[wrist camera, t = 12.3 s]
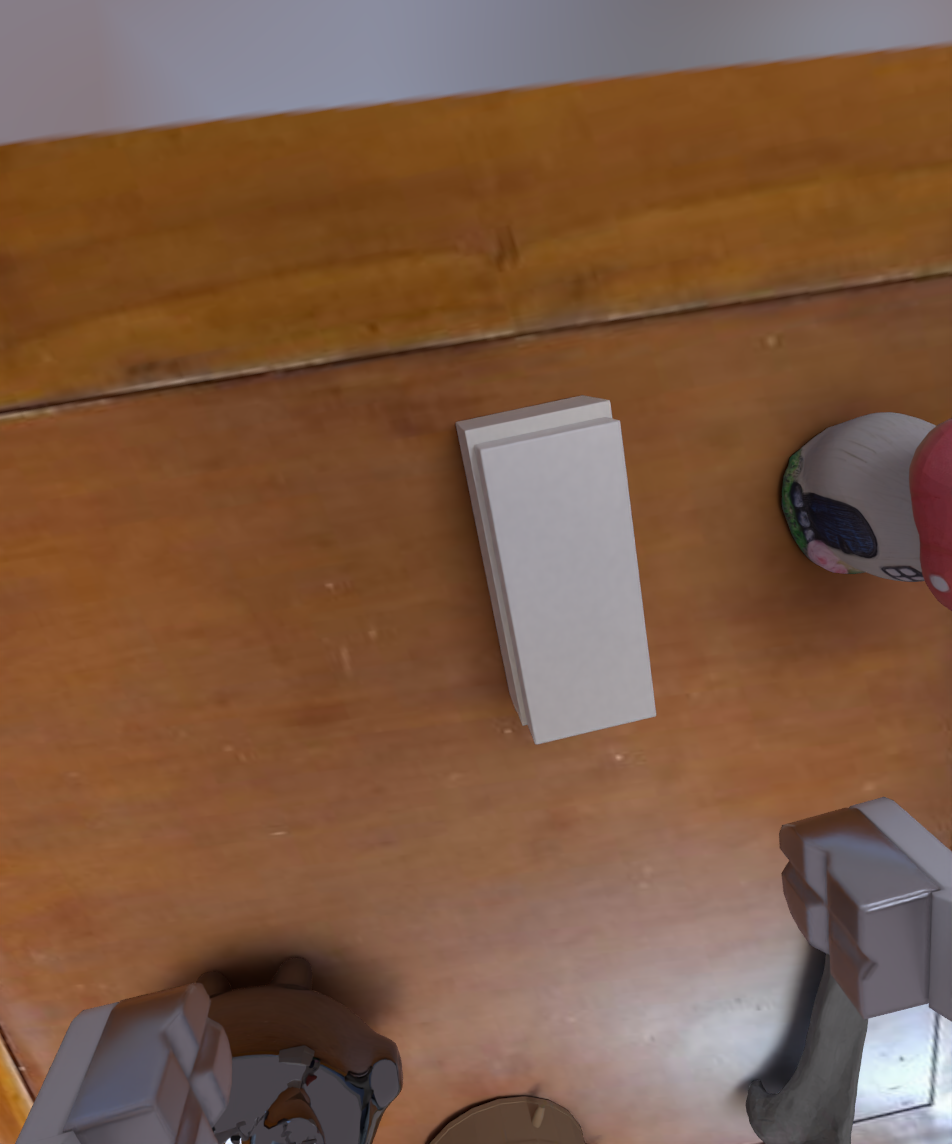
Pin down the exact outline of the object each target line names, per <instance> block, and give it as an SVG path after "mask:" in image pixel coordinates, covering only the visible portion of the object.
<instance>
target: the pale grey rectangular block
mask: <svg viewBox="0 0 952 1144" xmlns="http://www.w3.org/2000/svg"><path fill="white" fill-rule="evenodd" d="M474 448H475V453H476V458H477V463H478V469H479V474H480V479H481V484H482V489H483V495H484V500H485V505H486V510H487V516H488V521H489V526H490V531H491V536H492V542H493V547H494V552H495V557H496V563H497V568H498V573H499V578H500V583H501V589H502V594H503V599H504V604H505V610H506V615H507V620H508V625H509V630H510V636H511V641H512V646H513V651H514V656H515V662H516V667H517V672H518V677H519V683H520V688H521V693H522V698H523V703H524V709H525V714H526V719H527V724H528V727H529V730H530V732H531V735H532V737H533V740H534V743H535V744H541V743H545V742H550V741H554V740H558V739H562V738H566V737H571V736H575V735H579V734H583V733H587V732H592V731H596V730H600V729H604V728H608V727H613V726H617V725H621V724H625V723H629V722H634V721H638V720H642V719H646V718H651V717H655V716H656V709H655V701H654V692H653V684H652V676H651V668H650V660H649V652H648V644H647V636H646V628H645V619H644V611H643V603H642V595H641V587H640V579H639V571H638V563H637V555H636V546H635V538H634V530H633V522H632V514H631V506H630V498H629V490H628V482H627V473H626V465H625V457H624V449H623V441H622V433H621V425H620V421H619V420H615V419H612V418H608V417H601V418H597V419H592V420H587V421H583V422H578V423H573V424H568V425H564V426H559V427H554V428H549V429H545V430H540V431H535V432H530V433H526V434H521V435H516V436H511V437H507V438H502V439H497V440H493V441H488V442H483V443H478V444H475V446H474Z"/></svg>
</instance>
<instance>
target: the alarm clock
mask: <svg viewBox="0 0 952 1144" xmlns="http://www.w3.org/2000/svg"><path fill="white" fill-rule="evenodd" d="M430 1144H585V1142H584V1138H583V1134H582V1130H581V1127H580V1125H579V1124H578V1123H577V1121H576V1120H575V1119H574V1117H573V1116H572V1115H571V1114H570V1112H569V1111H568V1110H566V1109H564V1108H562V1107H561V1106H559V1105H557V1104H555V1103H553V1102H551V1101H550V1100H544V1099H539V1098H533V1097H527V1096H523V1097H513V1098H503V1099H497V1100H494V1101H491V1102H489V1103H486V1104H483V1105H480V1106H477V1107H475V1108H472V1109H470V1110H469V1111H467V1112H466V1113H464V1114H463V1115H461V1116H459V1117H458V1118H456V1119H455V1120H453V1121H452V1122H450V1123H449V1124H447V1126H446V1127H445V1128H444V1129H443V1130H442V1131H441V1132H440V1133H439V1134H438V1135H437V1136H436V1137H435V1138H434V1139H433V1140H432V1142H431V1143H430Z"/></svg>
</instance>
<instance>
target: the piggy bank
mask: <svg viewBox="0 0 952 1144" xmlns="http://www.w3.org/2000/svg"><path fill="white" fill-rule="evenodd" d="M196 983H202V984H203V986H204V988H205V990H206V992H207V994H208V996H209V998H210V1000H211V1004H210V1008H209V1012H208V1016H207V1017H208V1018H210V1019H212V1020H214V1021H216V1022H217V1023H219V1024H221V1025H222V1026H223V1028H224V1030H225V1033H226V1035H227V1037H228V1040H229V1045H230V1050H231V1055H232V1085H231V1090H230V1096H229V1101H228V1107H227V1108H226V1110H225V1111H224V1112H223V1114H222V1115H221V1117H220V1118H219V1119H218V1121H217V1122H216V1124H215V1125H214V1126H213V1128H212V1130H213V1133H214V1135H215V1137H216V1139H217V1141H218V1143H219V1144H372V1143H373V1140H374V1137H375V1135H376V1132H377V1129H378V1126H379V1124H380V1121H381V1118H382V1116H383V1114H384V1112H385V1110H386V1108H387V1107H388V1106H389V1105H390V1103H391V1102H392V1101H393V1100H394V1099H395V1098H396V1097H397V1096H398V1095H399V1093H400V1092H401V1090H402V1086H403V1072H402V1063H401V1057H400V1053H399V1050H398V1047H397V1045H396V1043H395V1042H393V1041H392V1040H391V1039H389V1038H387V1037H384V1036H382V1035H380V1034H378V1033H376V1032H375V1031H374V1030H372V1029H371V1028H370V1027H369V1026H368V1025H367V1024H366V1023H365V1022H364V1021H363V1020H362V1019H361V1018H360V1017H358V1016H357V1015H356V1014H355V1013H353V1012H352V1011H351V1010H350V1009H348V1008H347V1007H345V1006H344V1005H342V1004H341V1003H339V1002H338V1001H336V1000H334V999H332V998H330V997H329V996H326V995H324V994H322V993H319V992H316V991H313V990H312V967H311V965H310V963H309V962H307V961H306V960H305V959H303V958H299V957H295V958H290V959H288V960H286V961H285V962H284V963H282V965H281V966H280V967H279V969H278V970H277V972H276V974H275V976H274V977H273V979H272V980H271V982H270V983H269V984H266V985H262V986H253V987H245V988H239V989H235V990H232V989H231V986H230V983H229V981H228V979H227V978H226V977H225V976H224V975H222V974H221V973H219V972H216V971H213V972H207V973H204V974H202V975H201V976H200V977H199V978H198V980H197V981H196Z"/></svg>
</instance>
